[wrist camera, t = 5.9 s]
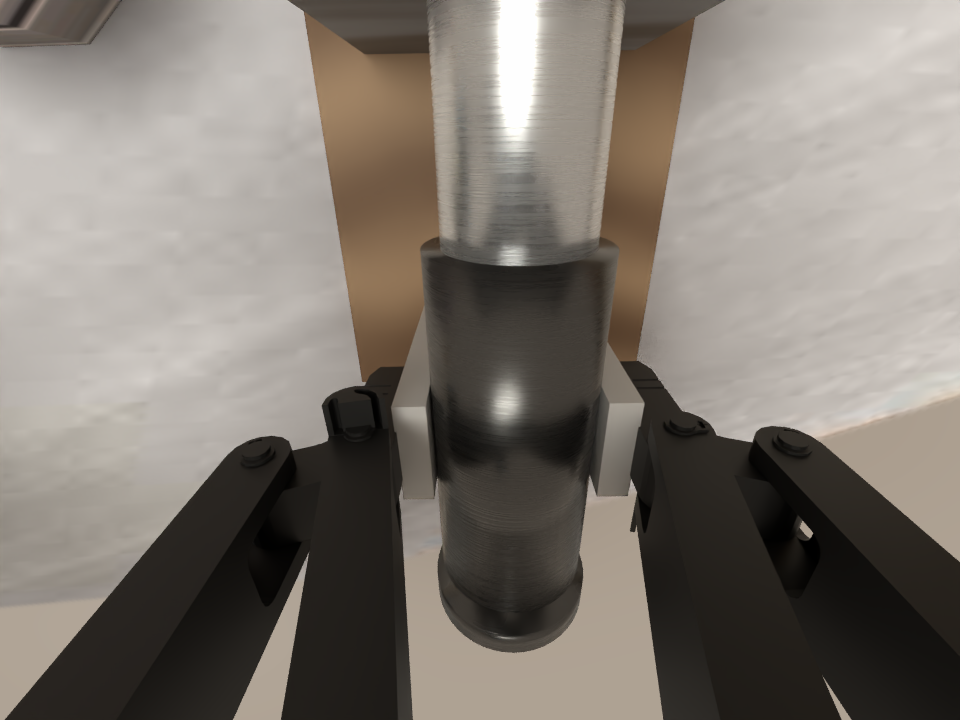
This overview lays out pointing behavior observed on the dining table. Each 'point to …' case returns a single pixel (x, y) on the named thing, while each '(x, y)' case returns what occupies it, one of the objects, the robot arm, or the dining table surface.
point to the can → (52, 21)
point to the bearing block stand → (412, 169)
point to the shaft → (518, 302)
